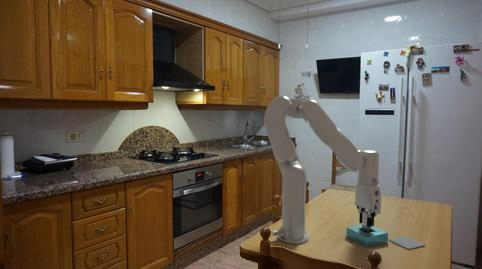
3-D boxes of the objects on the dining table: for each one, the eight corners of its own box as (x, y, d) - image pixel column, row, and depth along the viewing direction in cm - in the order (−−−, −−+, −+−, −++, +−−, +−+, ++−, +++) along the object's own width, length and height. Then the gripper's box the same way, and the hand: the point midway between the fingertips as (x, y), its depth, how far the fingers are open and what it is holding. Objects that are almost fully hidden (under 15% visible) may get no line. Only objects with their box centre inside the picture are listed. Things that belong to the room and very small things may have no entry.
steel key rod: (366, 237, 125) (366, 213, 125) (359, 234, 128) (360, 210, 128) (372, 236, 127) (373, 212, 126) (366, 233, 130) (367, 209, 129)
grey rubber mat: (408, 249, 118) (408, 248, 118) (389, 240, 126) (389, 239, 126) (425, 245, 121) (425, 244, 121) (405, 237, 129) (405, 236, 129)
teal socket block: (366, 247, 120) (366, 237, 120) (346, 236, 131) (346, 227, 130) (387, 242, 124) (388, 232, 124) (367, 232, 135) (367, 223, 135)
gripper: (391, 184, 119) (389, 230, 121) (360, 176, 135) (359, 217, 136) (376, 186, 117) (374, 233, 118) (346, 177, 132) (345, 219, 133)
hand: (366, 224), depth 127 cm, fingers closed on steel key rod, 3 cm apart
